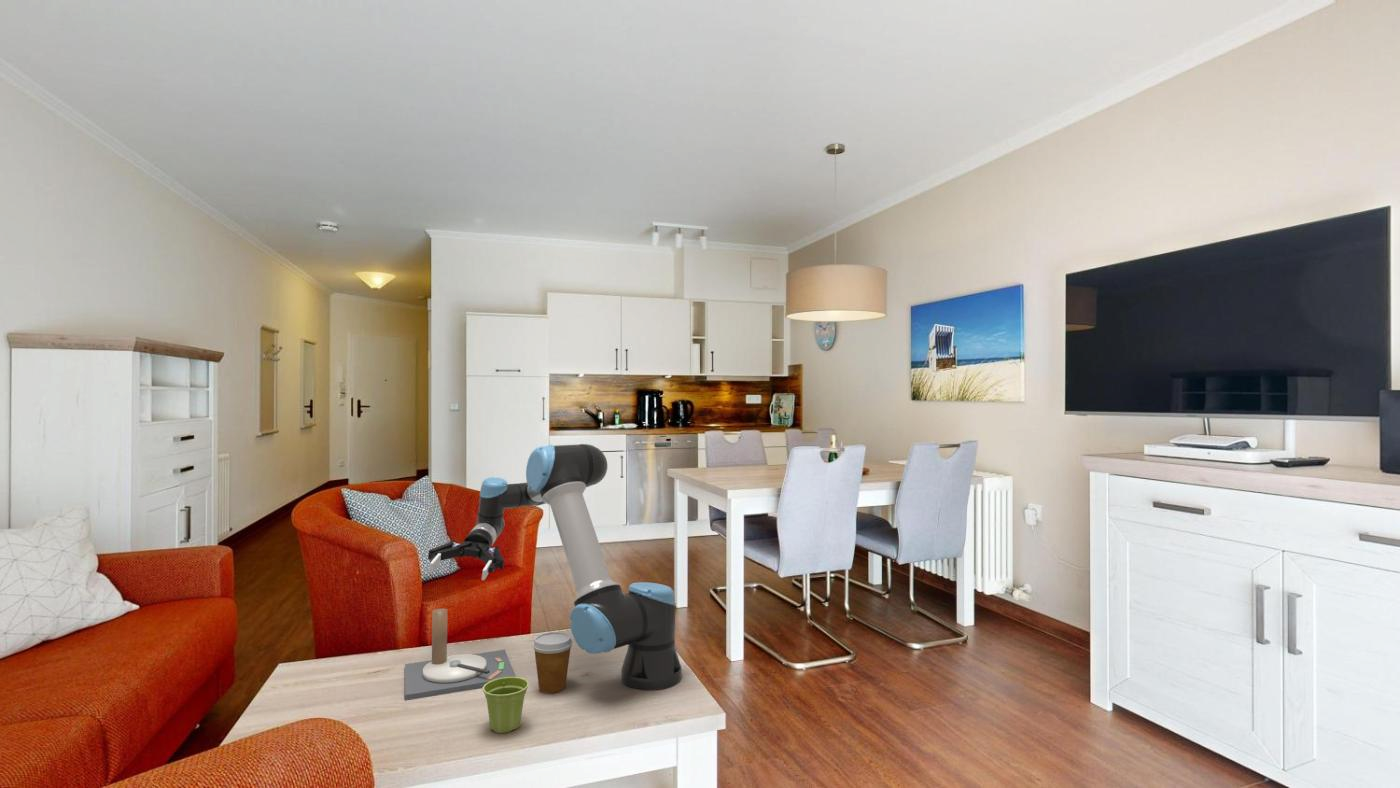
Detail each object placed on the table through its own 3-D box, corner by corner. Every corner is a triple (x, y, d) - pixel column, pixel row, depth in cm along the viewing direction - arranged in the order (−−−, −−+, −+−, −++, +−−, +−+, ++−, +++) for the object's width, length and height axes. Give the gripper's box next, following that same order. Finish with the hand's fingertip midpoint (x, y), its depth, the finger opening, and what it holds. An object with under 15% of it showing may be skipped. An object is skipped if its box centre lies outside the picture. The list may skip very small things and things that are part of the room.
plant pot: (488, 716, 143) (488, 676, 143) (531, 715, 144) (532, 675, 144) (477, 738, 134) (477, 695, 134) (523, 736, 135) (524, 694, 135)
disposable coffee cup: (577, 680, 162) (577, 632, 163) (565, 697, 153) (565, 645, 153) (539, 678, 163) (540, 630, 163) (526, 695, 154) (526, 644, 154)
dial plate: (516, 682, 161) (516, 675, 161) (405, 700, 151) (405, 693, 151) (504, 653, 180) (504, 648, 180) (405, 668, 169) (405, 662, 169)
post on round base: (490, 678, 160) (490, 620, 160) (423, 689, 154) (424, 628, 154) (482, 655, 175) (483, 601, 175) (422, 664, 169) (422, 608, 169)
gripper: (521, 558, 193) (503, 591, 172) (435, 546, 191) (407, 578, 170) (524, 534, 192) (507, 564, 171) (438, 522, 190) (410, 551, 169)
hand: (457, 571), depth 171 cm, fingers open, 13 cm apart
